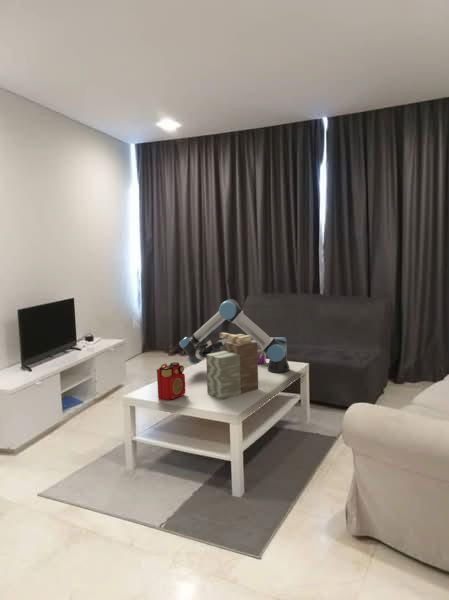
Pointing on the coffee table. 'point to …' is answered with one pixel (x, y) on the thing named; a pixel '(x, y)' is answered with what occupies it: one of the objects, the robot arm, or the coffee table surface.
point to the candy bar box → (261, 355)
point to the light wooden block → (236, 338)
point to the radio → (170, 381)
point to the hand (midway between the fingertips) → (219, 340)
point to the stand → (232, 370)
